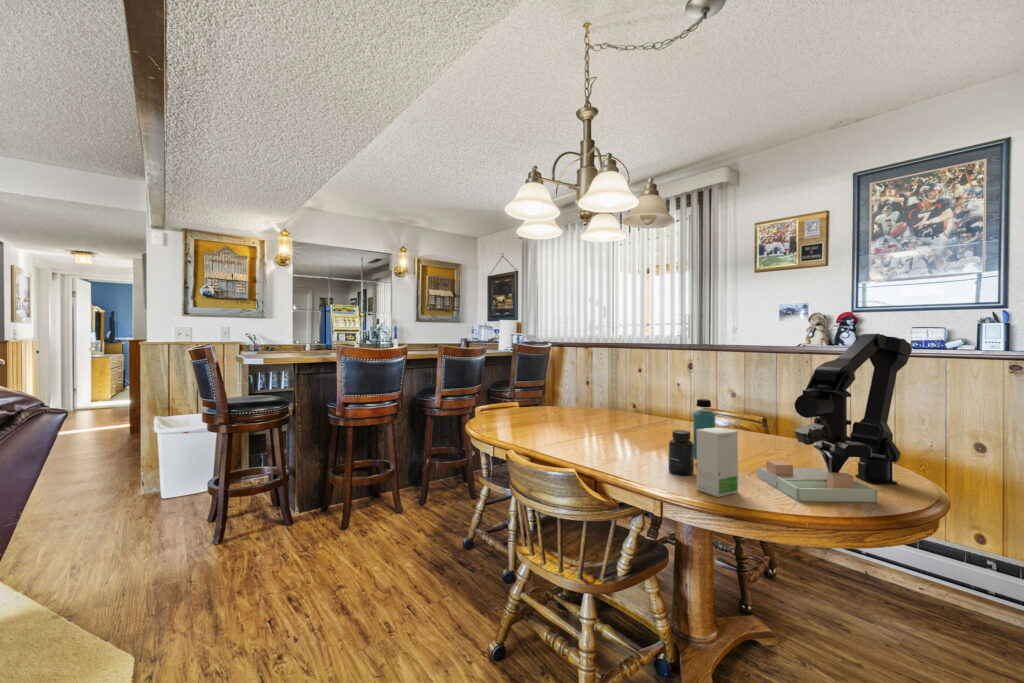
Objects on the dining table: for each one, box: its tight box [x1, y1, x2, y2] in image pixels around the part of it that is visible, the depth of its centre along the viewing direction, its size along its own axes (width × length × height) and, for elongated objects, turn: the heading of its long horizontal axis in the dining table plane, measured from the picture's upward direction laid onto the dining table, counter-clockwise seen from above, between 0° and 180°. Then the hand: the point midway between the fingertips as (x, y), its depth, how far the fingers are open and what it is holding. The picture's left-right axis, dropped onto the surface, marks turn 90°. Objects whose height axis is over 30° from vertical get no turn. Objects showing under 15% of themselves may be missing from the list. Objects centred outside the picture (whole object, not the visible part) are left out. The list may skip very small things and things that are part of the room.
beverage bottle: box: [692, 398, 716, 461], centre depth 133 cm, size 6×7×20 cm
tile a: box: [827, 472, 854, 489], centre depth 107 cm, size 4×4×2 cm
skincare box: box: [696, 427, 739, 498], centre depth 110 cm, size 8×7×16 cm
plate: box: [756, 466, 828, 489], centre depth 116 cm, size 18×10×2 cm, turn 87°
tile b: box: [766, 459, 794, 474], centre depth 117 cm, size 4×4×2 cm
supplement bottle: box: [668, 429, 695, 477], centre depth 125 cm, size 7×7×12 cm
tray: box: [776, 477, 878, 504], centre depth 106 cm, size 18×9×3 cm, turn 87°
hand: (832, 476), depth 110 cm, fingers closed
